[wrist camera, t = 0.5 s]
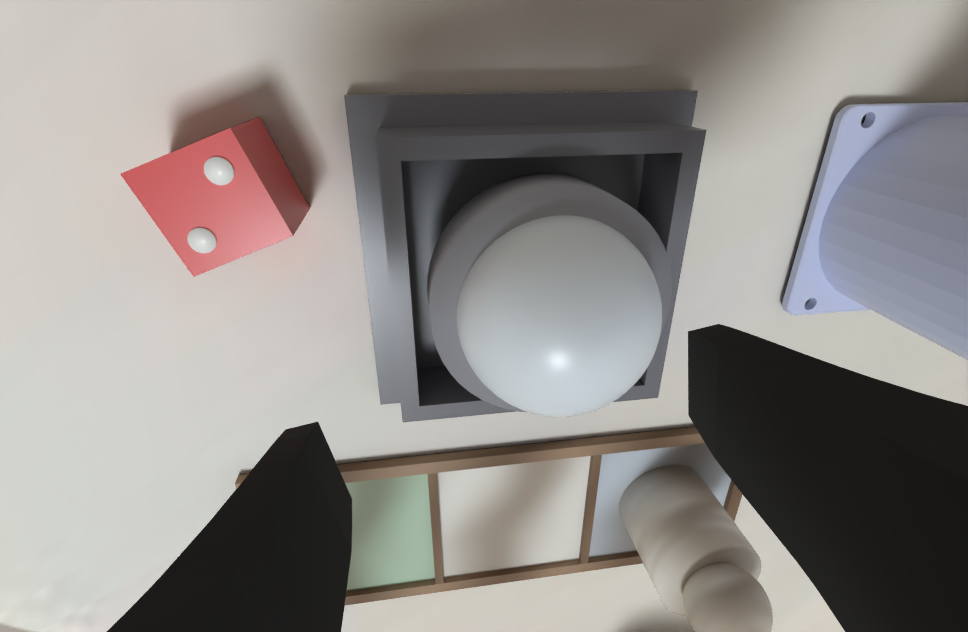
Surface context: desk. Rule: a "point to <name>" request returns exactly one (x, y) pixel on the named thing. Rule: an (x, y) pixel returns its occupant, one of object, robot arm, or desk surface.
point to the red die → (221, 196)
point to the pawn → (695, 552)
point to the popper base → (481, 164)
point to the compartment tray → (506, 511)
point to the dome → (548, 295)
